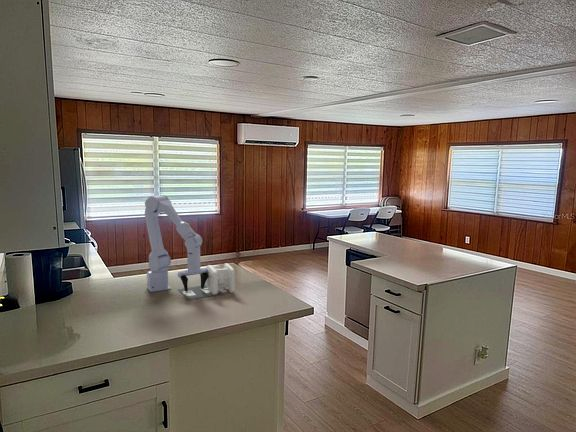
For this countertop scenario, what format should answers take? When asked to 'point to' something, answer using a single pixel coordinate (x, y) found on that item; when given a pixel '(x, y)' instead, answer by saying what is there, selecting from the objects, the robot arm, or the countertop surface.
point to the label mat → (197, 292)
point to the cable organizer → (220, 278)
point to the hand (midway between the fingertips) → (194, 289)
